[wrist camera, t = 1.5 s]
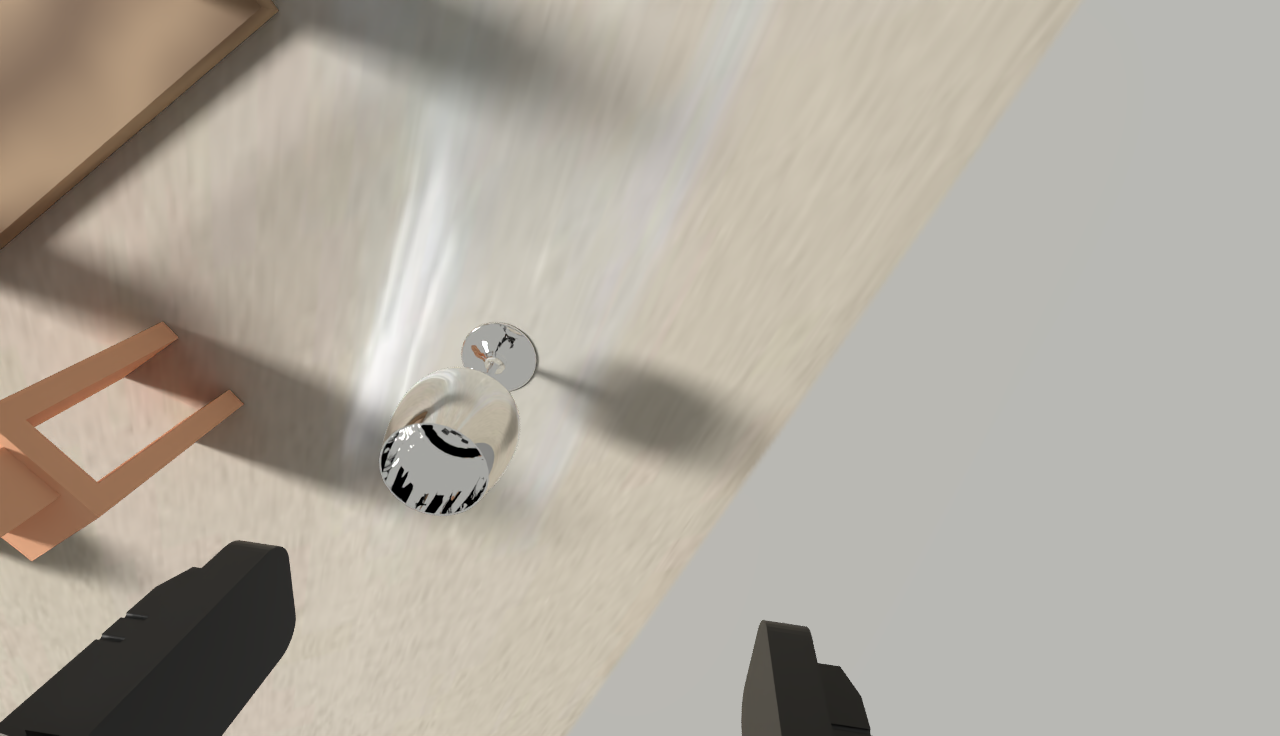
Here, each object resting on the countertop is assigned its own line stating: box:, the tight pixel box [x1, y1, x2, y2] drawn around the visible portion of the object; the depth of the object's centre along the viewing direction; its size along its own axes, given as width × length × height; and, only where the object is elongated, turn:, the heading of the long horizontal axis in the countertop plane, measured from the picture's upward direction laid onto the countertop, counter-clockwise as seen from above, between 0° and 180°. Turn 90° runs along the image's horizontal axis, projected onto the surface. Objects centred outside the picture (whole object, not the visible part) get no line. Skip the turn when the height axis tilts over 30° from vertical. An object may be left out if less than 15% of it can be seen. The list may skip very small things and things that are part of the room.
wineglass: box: [379, 323, 537, 516], centre depth 32 cm, size 6×6×12 cm
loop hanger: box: [0, 322, 244, 561], centre depth 31 cm, size 6×5×17 cm
